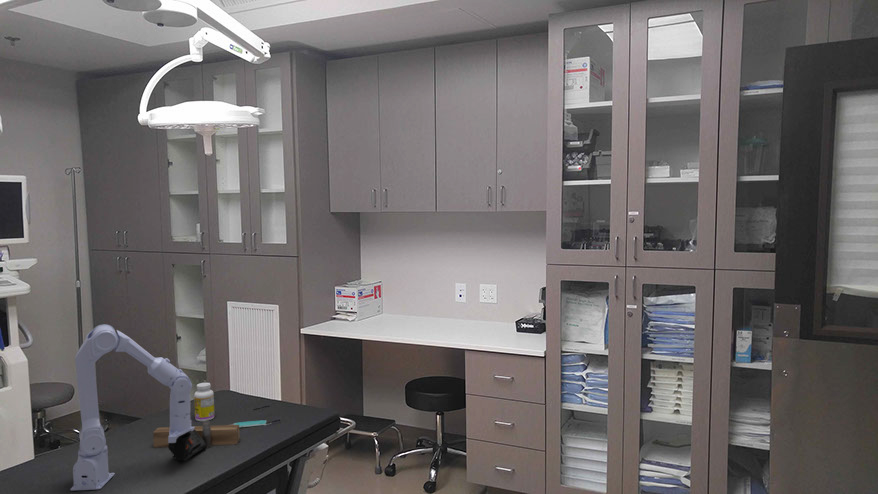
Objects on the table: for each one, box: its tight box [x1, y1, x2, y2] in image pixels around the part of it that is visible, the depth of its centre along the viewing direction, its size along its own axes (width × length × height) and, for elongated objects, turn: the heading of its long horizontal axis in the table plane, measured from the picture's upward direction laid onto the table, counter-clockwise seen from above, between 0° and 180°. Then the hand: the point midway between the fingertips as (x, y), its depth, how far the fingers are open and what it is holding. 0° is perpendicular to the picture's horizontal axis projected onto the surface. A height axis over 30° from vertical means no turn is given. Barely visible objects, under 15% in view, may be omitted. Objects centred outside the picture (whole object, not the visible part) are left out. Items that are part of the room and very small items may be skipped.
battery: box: [167, 429, 206, 462], centre depth 190 cm, size 12×8×7 cm
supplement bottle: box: [193, 382, 215, 423], centre depth 222 cm, size 7×7×13 cm
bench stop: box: [152, 420, 241, 449], centre depth 198 cm, size 6×26×8 cm, turn 95°
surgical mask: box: [231, 405, 281, 429], centre depth 216 cm, size 21×4×10 cm
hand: (180, 457), depth 184 cm, fingers closed, pressing on battery
